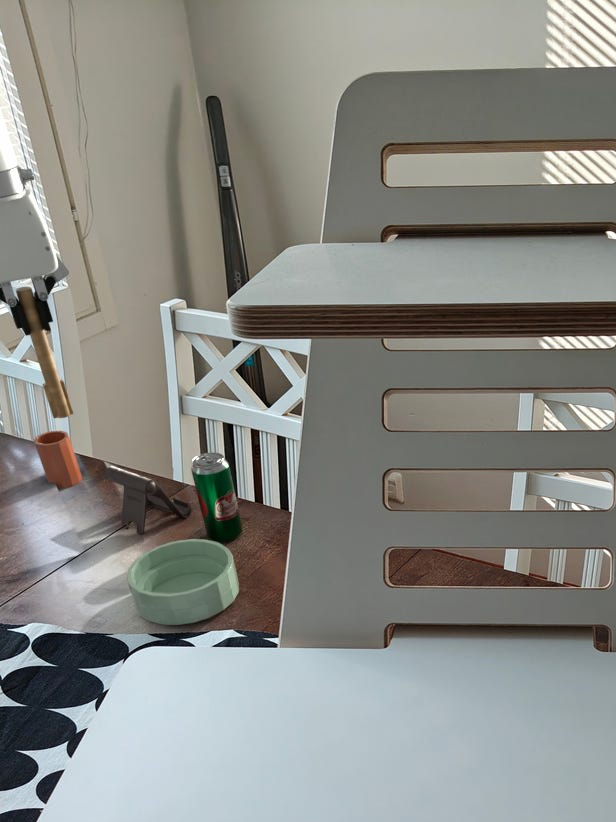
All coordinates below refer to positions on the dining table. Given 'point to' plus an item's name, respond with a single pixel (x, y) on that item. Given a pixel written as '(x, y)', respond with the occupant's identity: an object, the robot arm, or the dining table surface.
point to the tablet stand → (143, 497)
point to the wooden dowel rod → (45, 357)
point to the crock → (58, 459)
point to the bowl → (183, 581)
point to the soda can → (216, 497)
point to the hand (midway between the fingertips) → (36, 329)
